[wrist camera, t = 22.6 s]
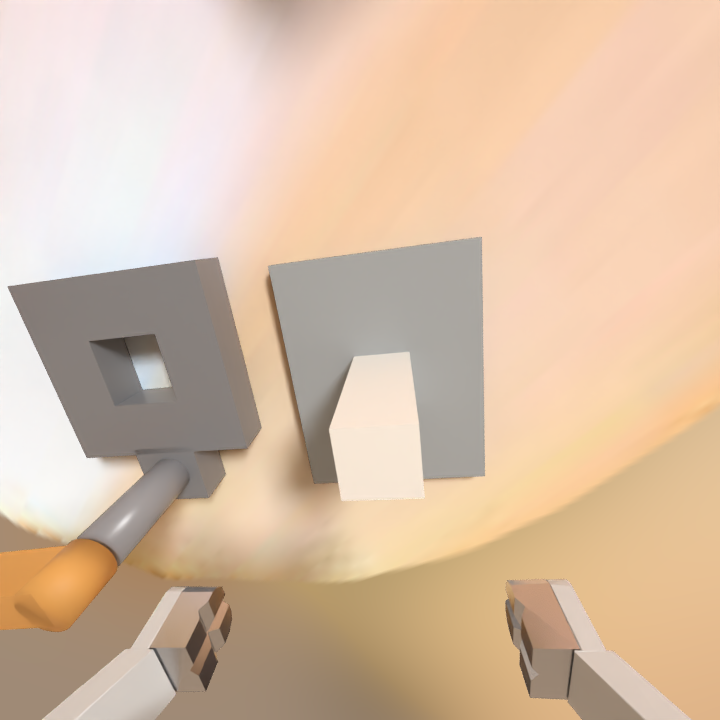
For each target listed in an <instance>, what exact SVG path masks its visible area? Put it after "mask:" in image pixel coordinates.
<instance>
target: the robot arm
mask: <svg viewBox="0 0 720 720" xmlns="http://www.w3.org/2000/svg"><path fill="white" fill-rule="evenodd" d="M506 592H507V595H508V600H506V603H505V604H506V616H507V623H508V627H509V631H510V635H511V638H512V641H513V644H514V645H515V646H516V647H517V648H518V649H519V650H520V667H521V671H522V674H523V677H524V680H525V683H526V687H527V690H528V693H529V696H530V698H547V699H565V700H568V703H569V704H570V705H571V706H572V708H573V709H574V710H575V711H576V713H577V714H578V715H579V716H580V718H581V719H582V720H691V719H690V718H689V717H688V716H687V715H686V714H685V713H683V712H682V711H681V710H680V709H679V708H678V707H676V706H675V705H674V704H673V703H672V702H671V701H670V700H669V699H667V698H666V697H665V696H664V695H663V694H662V693H661V692H659V691H658V690H657V689H656V688H655V687H654V686H653V685H651V684H650V683H649V682H648V681H647V680H646V679H645V678H643V677H642V676H641V675H640V674H639V673H638V672H637V671H635V670H634V669H633V668H632V667H631V666H630V665H629V664H627V663H626V662H625V661H624V660H623V659H622V658H621V657H620V656H618V655H617V654H616V653H615V652H614V651H609V650H605V647H604V645H603V644H602V642H601V640H600V638H599V636H598V634H597V632H596V631H595V629H594V627H593V625H592V623H591V621H590V619H589V617H588V615H587V613H586V612H585V610H584V608H583V606H582V604H581V602H580V600H579V598H578V596H577V595H576V593H575V591H574V589H573V587H572V585H571V583H569V581H568V580H566V579H554V580H545V579H532V580H507V582H506ZM224 596H225V593H224V591H223V588H222V587H189V586H188V587H187V586H186V587H171V588H170V589H169V590H168V591H166V593H165V594H164V596H163V597H162V599H161V600H160V602H159V604H158V605H157V607H156V608H155V610H154V612H153V613H152V615H151V616H150V618H149V620H148V621H147V623H146V624H145V626H144V628H143V629H142V631H141V632H140V634H139V636H138V637H137V639H136V640H135V642H134V644H133V645H132V647H131V648H130V649H125V650H123V652H121V653H120V654H119V655H118V656H116V657H115V658H114V659H113V660H112V661H111V662H110V663H108V664H107V665H106V666H105V667H103V668H102V669H101V670H100V671H99V672H98V673H96V674H95V675H94V676H93V677H92V678H90V679H89V680H88V681H87V682H86V683H85V684H83V685H82V686H81V687H80V688H79V689H77V690H76V691H75V692H74V693H73V694H72V695H70V696H69V697H68V698H67V699H66V700H64V701H63V702H62V703H61V704H60V705H59V706H58V707H56V708H55V709H54V710H53V711H52V712H50V713H49V714H48V715H47V716H46V717H44V718H43V719H42V720H155V719H156V718H157V717H158V715H159V714H160V713H161V712H162V711H163V710H164V708H165V707H166V706H167V705H168V704H169V702H170V701H171V700H172V699H173V698H174V696H175V695H176V692H200V691H202V692H204V691H206V690H207V687H208V685H209V683H210V680H211V677H212V675H213V673H214V670H215V668H216V665H217V663H218V660H217V654H216V652H217V651H218V650H219V649H220V648H221V647H222V646H223V645H224V644H225V642H226V639H227V637H228V634H229V632H230V626H231V621H232V614H231V609H230V606H229V604H227V603H226V602H225V601H223V598H224Z"/></svg>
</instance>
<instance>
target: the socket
mask: <svg viewBox="0 0 720 720" xmlns="http://www.w3.org/2000/svg"><path fill="white" fill-rule="evenodd" d="M8 289H9V291H10V293H11V295H12V297H13V300H14V302H15V304H16V306H17V308H18V310H19V313H20V315H21V317H22V319H23V321H24V323H25V326H26V328H27V330H28V332H29V334H30V336H31V338H32V341H33V343H34V345H35V347H36V349H37V351H38V354H39V356H40V358H41V360H42V362H43V364H44V367H45V369H46V371H47V373H48V375H49V377H50V380H51V382H52V384H53V386H54V388H55V390H56V392H57V395H58V397H59V399H60V401H61V403H62V405H63V408H64V410H65V412H66V414H67V416H68V418H69V421H70V423H71V425H72V427H73V429H74V431H75V433H76V436H77V438H78V440H79V442H80V444H81V446H82V449H83V451H84V453H85V455H86V457H87V458H95V457H111V456H128V455H136V456H137V459H138V461H139V464H140V466H141V469H142V471H143V474H144V475H143V476H142V477H141V478H140V479H139V480H138V481H137V482H136V483H135V484H134V485H133V486H132V487H131V488H130V489H128V490H127V491H126V492H125V493H124V494H123V495H122V496H121V497H120V498H119V499H118V500H117V501H116V502H115V503H114V504H113V505H112V506H110V507H109V508H108V509H107V510H106V511H105V512H104V513H103V514H102V515H101V516H100V517H99V518H98V519H97V520H96V521H95V522H93V523H92V524H91V525H90V526H89V527H88V528H87V529H86V530H85V531H84V532H83V533H82V534H81V535H80V536H79V537H78V538H77V539H89V540H93V541H95V542H98V543H100V544H101V545H103V546H104V547H106V548H107V549H108V550H109V551H110V552H111V553H112V554H113V555H114V557H115V559H116V561H117V567H118V566H119V565H120V564H121V563H122V562H123V561H124V560H125V558H126V557H127V556H128V555H129V554H130V552H131V551H132V550H133V549H134V548H135V547H136V545H137V544H138V543H139V542H140V541H141V539H142V538H143V537H144V536H145V535H146V533H147V532H148V531H149V530H150V529H151V527H152V526H153V525H154V524H155V523H156V522H157V520H158V519H159V518H160V517H161V516H162V514H163V513H164V512H165V511H166V510H167V508H168V507H169V506H170V505H171V504H172V503H173V501H174V500H175V499H191V498H209V497H210V496H211V494H212V493H213V491H214V490H215V489H216V487H217V486H218V484H219V483H220V482H221V480H222V479H223V477H224V476H225V475H226V473H225V470H224V467H223V464H222V460H221V457H220V454H219V451H218V450H228V449H245V448H248V447H249V445H250V444H251V442H252V441H253V439H254V438H255V437H256V435H257V434H258V432H259V431H260V429H261V424H260V420H259V416H258V412H257V408H256V404H255V400H254V396H253V393H252V389H251V385H250V381H249V377H248V373H247V369H246V365H245V361H244V358H243V354H242V350H241V346H240V342H239V338H238V334H237V330H236V326H235V322H234V319H233V315H232V311H231V307H230V303H229V299H228V295H227V291H226V287H225V283H224V280H223V276H222V272H221V268H220V264H219V260H218V258H210V259H200V260H192V261H185V262H178V263H171V264H164V265H156V266H149V267H142V268H135V269H128V270H121V271H114V272H107V273H100V274H93V275H86V276H79V277H72V278H64V279H57V280H50V281H43V282H36V283H29V284H22V285H15V286H8ZM149 334H155V337H156V340H157V343H158V346H159V349H160V352H161V355H162V357H163V360H164V363H165V366H166V369H167V372H168V375H169V378H170V381H171V384H172V387H169V388H158V389H147V390H142V387H141V385H140V382H139V379H138V377H137V374H136V371H135V369H134V366H133V363H132V360H131V358H130V355H129V352H128V350H127V347H126V344H125V342H124V339H123V337H131V336H140V335H149Z"/></svg>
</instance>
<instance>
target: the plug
mask: <svg viewBox="0 0 720 720" xmlns="http://www.w3.org/2000/svg"><path fill="white" fill-rule="evenodd" d="M329 433H330V438H331V444H332V450H333V455H334V461H335V467H336V472H337V478H338V484H339V489H340V495H341V501H358V500H390V499H422V498H425V495H424V482H423V469H422V456H421V443H420V430H419V420H418V412H417V405H416V397H415V390H414V382H413V375H412V367H411V360H410V352H400V353H389V354H378V355H366V356H355V357H354V358H353V361H352V364H351V366H350V369H349V372H348V375H347V378H346V381H345V384H344V387H343V390H342V393H341V396H340V399H339V401H338V404H337V407H336V410H335V413H334V416H333V419H332V422H331V425H330V428H329Z"/></svg>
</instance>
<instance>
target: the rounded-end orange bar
mask: <svg viewBox="0 0 720 720" xmlns="http://www.w3.org/2000/svg"><path fill="white" fill-rule="evenodd" d="M116 571H117V561H116V559H115V557H114V555H113V554H112V553H111V552H110V551H109V550H108V549H107V548H106V547H104V546H103V545H101V544H100V543H98V542H95V541H93V540H89V539H76V540H73V541H71V542H70V543H69V544H68V545H67V546H59V547H49V548H40V549H31V550H21V551H11V552H2V553H0V630H8V629H24V628H40V629H43V630H46V631H51V632H61V631H65V630H67V629H68V628H70V627H71V626H72V624H73V623H74V622H75V621H76V620H77V618H78V617H79V616H80V615H81V614H82V612H83V611H84V610H85V609H86V608H87V606H88V605H89V604H90V603H91V601H92V600H93V599H94V598H95V597H96V596H97V595H98V593H99V592H100V591H101V590H102V588H103V587H104V586H105V585H106V584H107V583H108V581H109V580H110V579H111V578H112V577H113V575H114V574H115V573H116Z"/></svg>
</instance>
